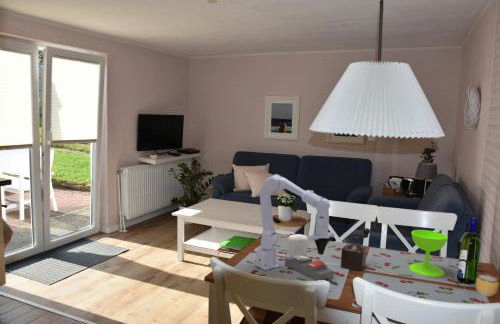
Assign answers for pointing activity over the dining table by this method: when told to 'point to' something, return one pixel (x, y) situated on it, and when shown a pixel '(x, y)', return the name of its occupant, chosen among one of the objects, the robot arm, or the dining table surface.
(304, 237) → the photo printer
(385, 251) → the dining table surface
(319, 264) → the red rocker
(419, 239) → the wineglass
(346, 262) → the manual coffee grinder
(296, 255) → the grey rocker
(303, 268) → the power strip
